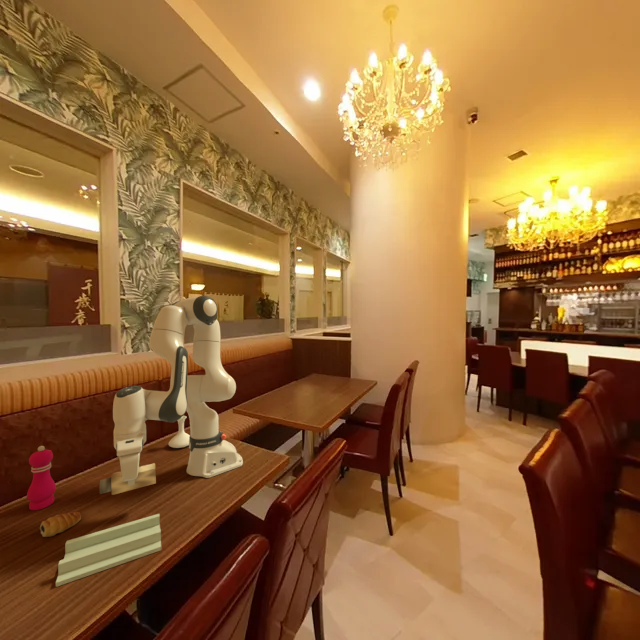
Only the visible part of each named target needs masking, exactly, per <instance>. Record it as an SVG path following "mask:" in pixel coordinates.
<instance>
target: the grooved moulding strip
mask: <svg viewBox="0 0 640 640" xmlns="http://www.w3.org/2000/svg"><path fill="white" fill-rule="evenodd" d="M160 516H161V515H160V513H157V514H153V515H149V516H146V517H142V518H140V519H136V520H132V521H129V522H126V523H122V524H119V525H115V526H112V527H109V528H106V529H103V530H99V531H95V532H92V533H89V534H85V535H82V536H78V537H76V538H72V539H67V540H66V542H65V546H64V547H65V549H64V552H65V554H64V558H63V559H61V560H59V561H58V564H57V569H58V573H57V577H56V580H55V587H56V588H57V587H60V586H63V585H66V584H69V583H71V582H72V583H73V582H74V581H75V582H76V581H78V580H80V579H83V578H86V577H89V576H91V575H95V574H98V573H100V572H102V571H106V570H108V569H111V568H114V567H117V566H120V565H123V564H126V563H129V562H132V561H134V560H137V559H140V558H143V557H146V556H149V555H151V554H154V553H157V552H160V551H162V531H161V524H160V523H161V522H160V521H161V520H160V519H161V517H160Z"/></svg>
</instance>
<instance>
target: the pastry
mask: <svg viewBox="0 0 640 640" xmlns="http://www.w3.org/2000/svg"><path fill="white" fill-rule="evenodd" d="M81 519H82V514H81V512H80V511H73V512H66V513H62V514H56V515H54V516H52V517H51V516H50V517H48V518H47V519H46V520H43V521H41V523H40V526H39V530H40V534H41V535H42V537H44V538H48V537H49V538H50V537H54V536H55V535H57V534H60V533H63V532H65V531H66V530H69V529H70V528H71V527H73V526H75V525H76V524H78V523H79V522H80V521H81Z"/></svg>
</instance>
